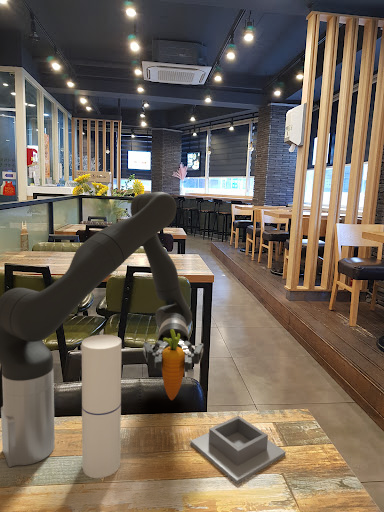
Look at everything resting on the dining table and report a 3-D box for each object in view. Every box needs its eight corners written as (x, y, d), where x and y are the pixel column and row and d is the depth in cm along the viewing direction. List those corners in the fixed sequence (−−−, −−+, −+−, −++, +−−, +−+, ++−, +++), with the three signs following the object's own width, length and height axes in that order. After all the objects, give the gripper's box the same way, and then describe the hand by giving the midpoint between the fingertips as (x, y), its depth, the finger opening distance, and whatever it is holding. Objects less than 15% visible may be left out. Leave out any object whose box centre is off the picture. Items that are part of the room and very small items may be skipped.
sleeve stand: (236, 484, 68) (238, 464, 67) (190, 444, 79) (191, 426, 78) (285, 455, 76) (286, 437, 76) (237, 422, 87) (238, 406, 87)
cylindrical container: (86, 482, 67) (86, 351, 63) (79, 458, 73) (78, 337, 70) (124, 470, 70) (126, 345, 67) (114, 448, 76) (115, 332, 73)
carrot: (180, 407, 75) (183, 337, 73) (156, 404, 76) (159, 334, 74) (185, 395, 80) (188, 329, 78) (163, 392, 81) (165, 326, 79)
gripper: (144, 321, 90) (137, 348, 73) (203, 323, 91) (209, 350, 74) (143, 350, 91) (136, 384, 74) (201, 352, 92) (207, 385, 75)
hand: (173, 367), depth 74 cm, fingers closed on carrot, 4 cm apart
